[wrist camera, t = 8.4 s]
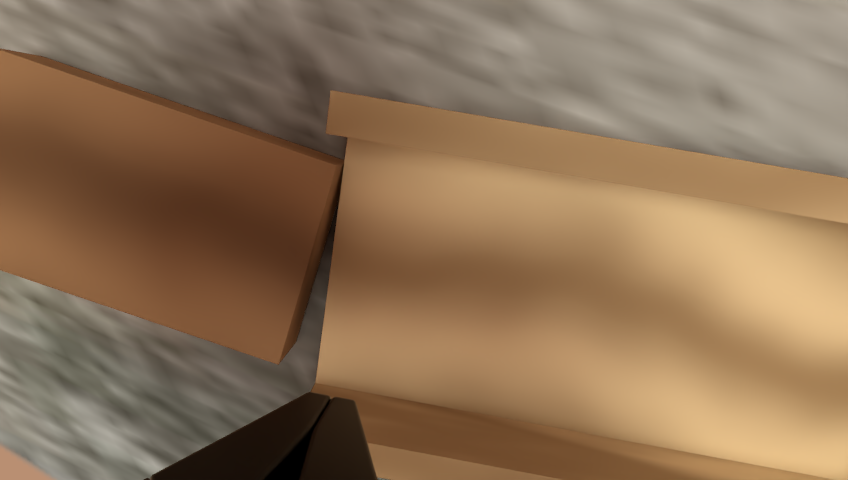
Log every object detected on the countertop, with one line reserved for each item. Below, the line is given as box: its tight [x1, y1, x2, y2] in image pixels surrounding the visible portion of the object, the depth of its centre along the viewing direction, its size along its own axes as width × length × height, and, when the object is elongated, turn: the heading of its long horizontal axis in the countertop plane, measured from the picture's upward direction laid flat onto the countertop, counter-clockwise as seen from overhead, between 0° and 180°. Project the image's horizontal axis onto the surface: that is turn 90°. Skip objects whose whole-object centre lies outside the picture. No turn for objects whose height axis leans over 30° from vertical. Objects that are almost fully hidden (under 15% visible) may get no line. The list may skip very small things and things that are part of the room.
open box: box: [311, 90, 848, 480], centre depth 17 cm, size 12×22×4 cm, turn 80°
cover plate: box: [0, 49, 345, 365], centre depth 18 cm, size 8×12×2 cm, turn 71°
